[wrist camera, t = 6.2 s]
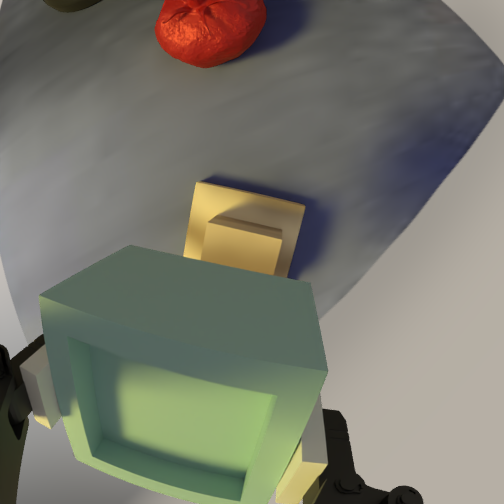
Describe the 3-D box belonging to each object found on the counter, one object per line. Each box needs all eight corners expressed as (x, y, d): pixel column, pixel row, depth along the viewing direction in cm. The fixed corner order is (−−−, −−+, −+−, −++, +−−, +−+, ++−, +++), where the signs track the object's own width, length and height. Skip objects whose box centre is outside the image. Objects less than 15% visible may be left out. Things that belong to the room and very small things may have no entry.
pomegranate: (287, 36, 25) (291, -10, 16) (204, 93, 27) (175, 67, 18) (226, -21, 23) (211, -71, 14) (150, 32, 25) (110, -3, 16)
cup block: (130, 244, 13) (38, 295, 7) (310, 282, 13) (328, 371, 7) (128, 382, 15) (76, 459, 9) (270, 418, 15) (261, 515, 9)
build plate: (200, 181, 29) (182, 184, 24) (304, 204, 29) (309, 213, 24) (183, 277, 32) (165, 299, 27) (278, 301, 32) (277, 327, 26)
